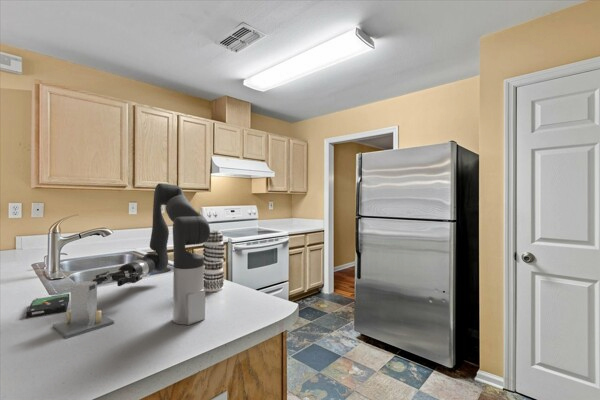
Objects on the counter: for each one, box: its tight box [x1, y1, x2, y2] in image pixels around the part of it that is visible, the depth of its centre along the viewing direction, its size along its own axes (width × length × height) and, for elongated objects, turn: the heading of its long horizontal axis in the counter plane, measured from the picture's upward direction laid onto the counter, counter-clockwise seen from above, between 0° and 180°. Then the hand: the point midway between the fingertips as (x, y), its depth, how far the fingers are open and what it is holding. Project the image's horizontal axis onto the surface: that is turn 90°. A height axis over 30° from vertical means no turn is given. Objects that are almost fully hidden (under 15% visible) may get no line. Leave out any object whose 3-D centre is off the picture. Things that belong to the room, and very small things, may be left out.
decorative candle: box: [202, 229, 226, 292], centre depth 126 cm, size 9×9×25 cm
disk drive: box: [25, 293, 70, 319], centre depth 102 cm, size 10×3×15 cm
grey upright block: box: [70, 280, 98, 325], centre depth 89 cm, size 5×4×12 cm
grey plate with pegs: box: [52, 309, 115, 339], centre depth 89 cm, size 12×12×4 cm
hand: (106, 283), depth 99 cm, fingers open, 8 cm apart
